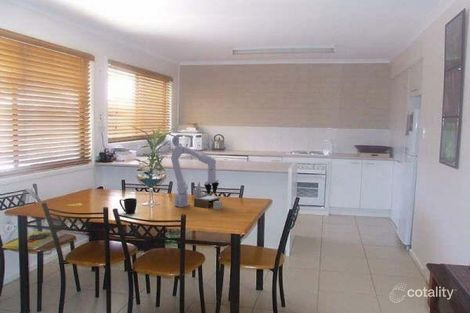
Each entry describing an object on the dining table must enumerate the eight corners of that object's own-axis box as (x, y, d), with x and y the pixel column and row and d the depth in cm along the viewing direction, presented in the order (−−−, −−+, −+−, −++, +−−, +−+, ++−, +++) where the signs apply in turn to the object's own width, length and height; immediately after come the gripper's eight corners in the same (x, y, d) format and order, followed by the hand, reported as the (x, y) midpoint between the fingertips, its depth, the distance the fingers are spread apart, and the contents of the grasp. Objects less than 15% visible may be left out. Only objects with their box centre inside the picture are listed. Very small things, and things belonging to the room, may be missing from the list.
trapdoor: (209, 200, 292) (209, 197, 291) (196, 198, 298) (196, 196, 297) (218, 198, 302) (218, 195, 302) (205, 196, 308) (205, 193, 308)
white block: (218, 209, 287) (218, 202, 286) (213, 208, 289) (213, 201, 289) (222, 208, 291) (222, 201, 290) (216, 207, 293) (216, 200, 293)
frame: (207, 208, 291) (207, 200, 290) (194, 206, 297) (194, 198, 296) (219, 204, 304) (219, 197, 304) (205, 202, 310) (205, 195, 310)
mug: (123, 211, 278) (123, 197, 277) (139, 212, 274) (139, 198, 274) (116, 213, 270) (116, 199, 269) (132, 215, 266) (132, 200, 266)
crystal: (207, 201, 314) (207, 182, 313) (191, 201, 316) (191, 181, 315) (210, 199, 324) (210, 180, 322) (194, 198, 326) (194, 180, 325)
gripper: (210, 176, 288) (210, 195, 289) (221, 174, 301) (221, 192, 302) (202, 175, 292) (202, 194, 293) (213, 173, 304) (213, 191, 305)
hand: (211, 193), depth 298 cm, fingers open, 7 cm apart
